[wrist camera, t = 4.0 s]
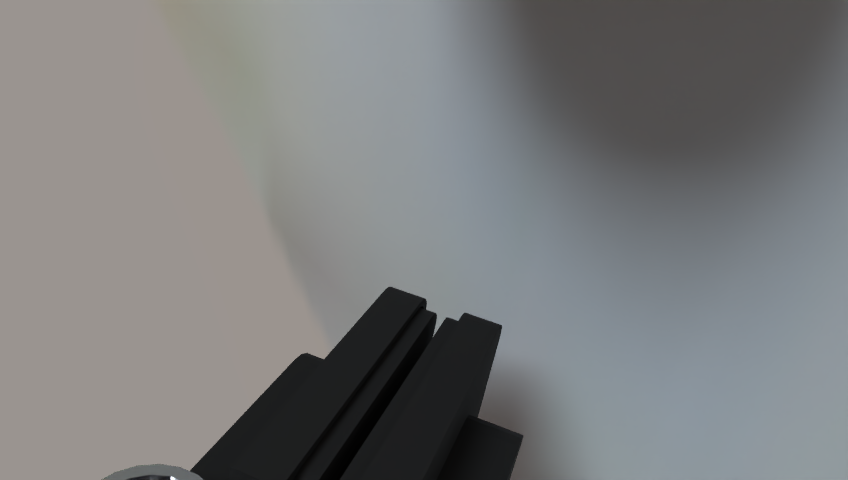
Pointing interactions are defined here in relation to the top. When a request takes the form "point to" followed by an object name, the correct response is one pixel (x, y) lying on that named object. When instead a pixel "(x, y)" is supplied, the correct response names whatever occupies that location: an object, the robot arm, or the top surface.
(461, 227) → the top surface
